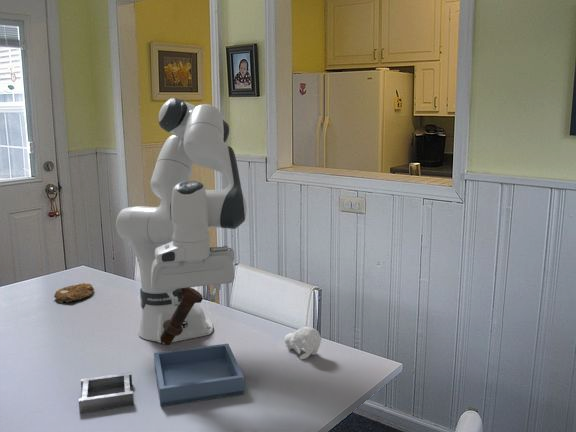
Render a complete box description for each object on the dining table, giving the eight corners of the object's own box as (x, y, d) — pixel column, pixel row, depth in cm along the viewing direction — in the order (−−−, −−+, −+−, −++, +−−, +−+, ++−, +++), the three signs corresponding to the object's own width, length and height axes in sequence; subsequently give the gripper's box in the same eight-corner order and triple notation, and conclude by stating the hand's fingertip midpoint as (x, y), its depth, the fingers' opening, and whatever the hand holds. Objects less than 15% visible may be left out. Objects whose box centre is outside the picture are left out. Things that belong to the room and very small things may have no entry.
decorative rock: (77, 289, 216) (48, 304, 203) (76, 279, 215) (46, 293, 202) (102, 291, 212) (74, 307, 198) (100, 281, 211) (72, 295, 198)
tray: (228, 358, 158) (228, 343, 157) (244, 394, 140) (243, 377, 139) (154, 368, 153) (153, 352, 152) (160, 406, 134) (159, 389, 133)
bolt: (175, 344, 146) (204, 294, 144) (173, 352, 141) (202, 300, 139) (155, 333, 145) (184, 283, 143) (152, 341, 140) (181, 289, 138)
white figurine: (306, 332, 154) (277, 324, 163) (308, 363, 155) (279, 352, 164) (322, 326, 158) (293, 318, 167) (324, 356, 159) (295, 346, 168)
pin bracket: (132, 383, 145) (131, 372, 144) (133, 405, 135) (132, 393, 134) (81, 390, 141) (81, 379, 141) (79, 413, 131) (78, 401, 131)
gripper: (231, 242, 145) (233, 293, 148) (148, 249, 139) (152, 302, 142) (236, 249, 139) (238, 302, 142) (149, 256, 133) (153, 312, 136)
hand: (194, 302), depth 142 cm, fingers open, 8 cm apart
